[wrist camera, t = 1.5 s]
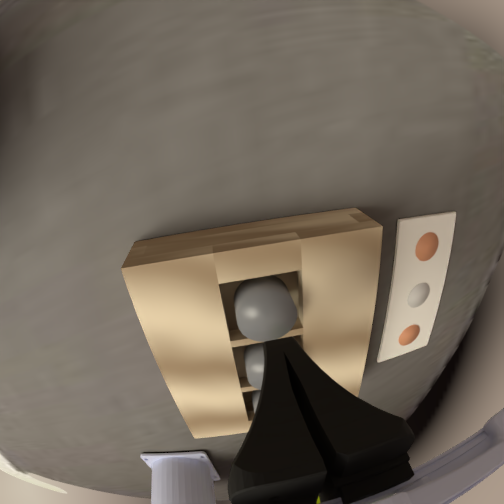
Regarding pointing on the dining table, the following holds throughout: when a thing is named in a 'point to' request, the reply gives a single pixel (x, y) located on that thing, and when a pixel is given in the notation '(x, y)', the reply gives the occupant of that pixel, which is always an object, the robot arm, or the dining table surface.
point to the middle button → (254, 364)
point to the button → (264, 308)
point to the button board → (223, 311)
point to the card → (416, 282)
